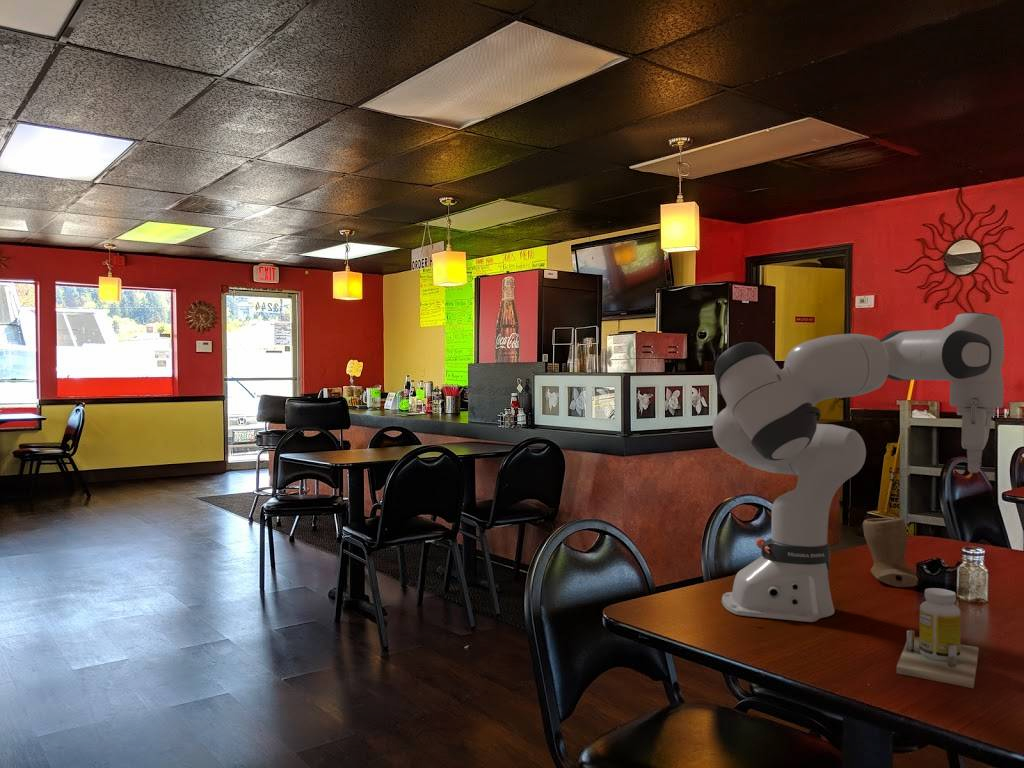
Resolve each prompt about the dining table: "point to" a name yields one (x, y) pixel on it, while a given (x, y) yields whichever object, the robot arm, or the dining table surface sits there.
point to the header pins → (951, 648)
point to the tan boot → (889, 551)
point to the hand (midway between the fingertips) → (974, 469)
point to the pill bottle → (939, 624)
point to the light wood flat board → (940, 666)
